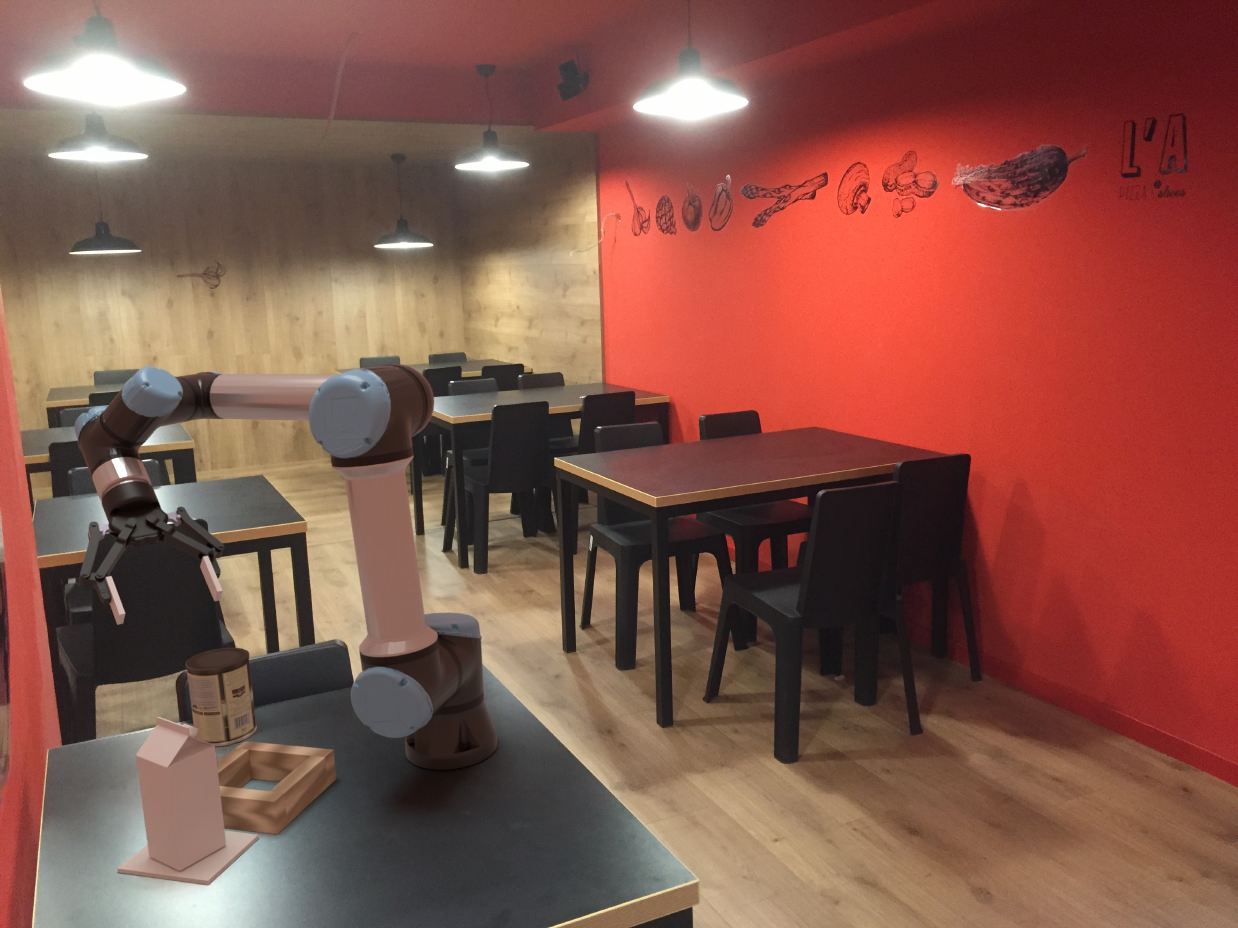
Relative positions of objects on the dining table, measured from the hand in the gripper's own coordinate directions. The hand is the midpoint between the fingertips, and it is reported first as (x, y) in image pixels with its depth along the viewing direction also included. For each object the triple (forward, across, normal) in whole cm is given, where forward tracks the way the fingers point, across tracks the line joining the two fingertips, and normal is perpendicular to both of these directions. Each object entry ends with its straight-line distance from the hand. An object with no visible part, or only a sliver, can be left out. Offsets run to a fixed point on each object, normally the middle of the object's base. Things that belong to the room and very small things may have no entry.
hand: (171, 607), depth 141 cm
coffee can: (+7, -12, -37) cm, 40 cm away
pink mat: (+32, +6, -12) cm, 34 cm away
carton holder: (+26, -7, -18) cm, 33 cm away
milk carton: (+31, +6, -12) cm, 34 cm away
